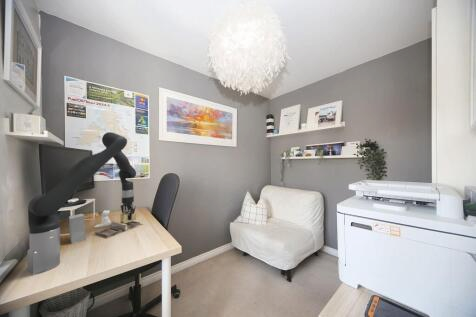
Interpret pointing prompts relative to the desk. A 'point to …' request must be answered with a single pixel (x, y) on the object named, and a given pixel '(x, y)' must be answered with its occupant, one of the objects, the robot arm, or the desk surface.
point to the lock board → (116, 229)
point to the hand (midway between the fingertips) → (128, 219)
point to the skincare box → (77, 228)
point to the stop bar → (125, 217)
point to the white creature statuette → (104, 219)
